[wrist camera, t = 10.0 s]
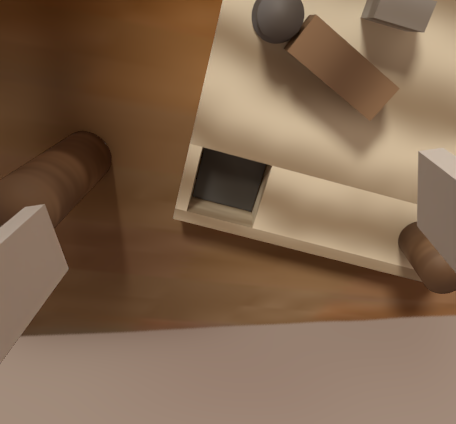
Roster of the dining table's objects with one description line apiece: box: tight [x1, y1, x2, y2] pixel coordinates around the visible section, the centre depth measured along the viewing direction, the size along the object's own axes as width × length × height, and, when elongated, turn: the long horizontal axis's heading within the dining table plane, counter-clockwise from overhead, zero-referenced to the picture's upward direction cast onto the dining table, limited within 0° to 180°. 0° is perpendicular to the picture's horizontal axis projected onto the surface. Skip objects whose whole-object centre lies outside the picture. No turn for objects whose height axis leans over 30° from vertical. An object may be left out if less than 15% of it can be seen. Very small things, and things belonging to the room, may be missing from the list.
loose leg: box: [0, 131, 111, 228], centre depth 29 cm, size 4×4×11 cm
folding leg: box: [256, 0, 400, 121], centre depth 25 cm, size 9×3×3 cm, turn 53°
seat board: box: [173, 0, 456, 294], centre depth 28 cm, size 20×22×8 cm
